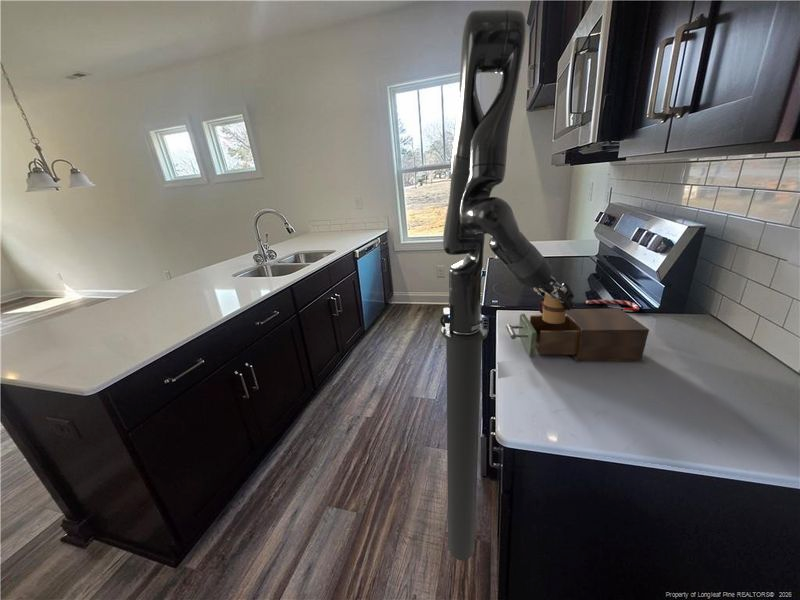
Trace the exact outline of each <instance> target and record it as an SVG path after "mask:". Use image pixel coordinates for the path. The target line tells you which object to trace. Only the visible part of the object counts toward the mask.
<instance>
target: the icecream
mask: <svg viewBox="0 0 800 600" xmlns="http://www.w3.org/2000/svg"><path fill="white" fill-rule="evenodd" d="M538 302H539V303H538V304H537V305H538V310H539V313H540V314H541V315H543V306H544V298H542V299H540V300H539V301H538Z"/></svg>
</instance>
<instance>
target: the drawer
mask: <svg viewBox="0 0 800 600" xmlns="http://www.w3.org/2000/svg"><path fill="white" fill-rule="evenodd" d="M542 317H543V314H535V315H534V314H531V315H529V318H528V317H527V315H526V314H525V313H520V314H519V323H518V325H512V324H509V323H507V324H506V325H505V329H506V330H507V332H508V335H509V337H510V339H511V340H516V339H517V338H519V340H520V342H521V344H522V346H523V347H524V349H525V351H526V354H527V355H528V356H529V358H534V357H535V354H536V352H537V353H538V355H572V354H577V350H578V344H579V338H580V330H579V329H578V328H577V327H576V326H575V325H574V324H573V323H572V322H571V321H570V320H569V319H568V318H567V317H566V316H565V322H564V323H561V324H551V323H547V322H545V321H544V320H543V319H542ZM514 329H518V332H517V333H518V334H517V333H516V332H515V331H514Z"/></svg>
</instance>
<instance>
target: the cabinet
mask: <svg viewBox="0 0 800 600" xmlns="http://www.w3.org/2000/svg"><path fill="white" fill-rule="evenodd" d="M566 317H567V318H568V319H569V320H570V321H571V322H572V323H573V324H574V325H575V326H576V327H577V328H578V329H579V330H580V338H579V344H578V350H577V354H571V356H572V357H573V358H574V359H575V361H576V362H642V360H643V356H644V351H645V347H646V344H647V340H648V336H649V331H650V329H649V328H648V327H646V326H645V325H643V324H642V323H640V322H639V320H637V319H635V318H634V317H632V316H631V315H629V314H628V313H627V312H626V311H623V309H621V308H620V307H618V308H571V309H570V310H569V311H568V310H566Z"/></svg>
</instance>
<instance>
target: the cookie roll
mask: <svg viewBox="0 0 800 600" xmlns="http://www.w3.org/2000/svg"><path fill="white" fill-rule="evenodd" d="M555 290H556V289H555ZM555 290H554V291H555ZM554 291H553V292H552V293H551V294H553V293H554ZM558 297H559V295H558ZM559 298H560V297H559ZM543 299H544V306H543V314H542V315H543V317H542V319H543V320H544V321H545V322H547V323H551V324H561V323H564V322H565V316H566V309H565V308H564V307H563V306H562V305H561V303H559V301H557V300H556V299H554V298H550V297H549V296H548V295H547V294H546V293H545V298H543Z"/></svg>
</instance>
